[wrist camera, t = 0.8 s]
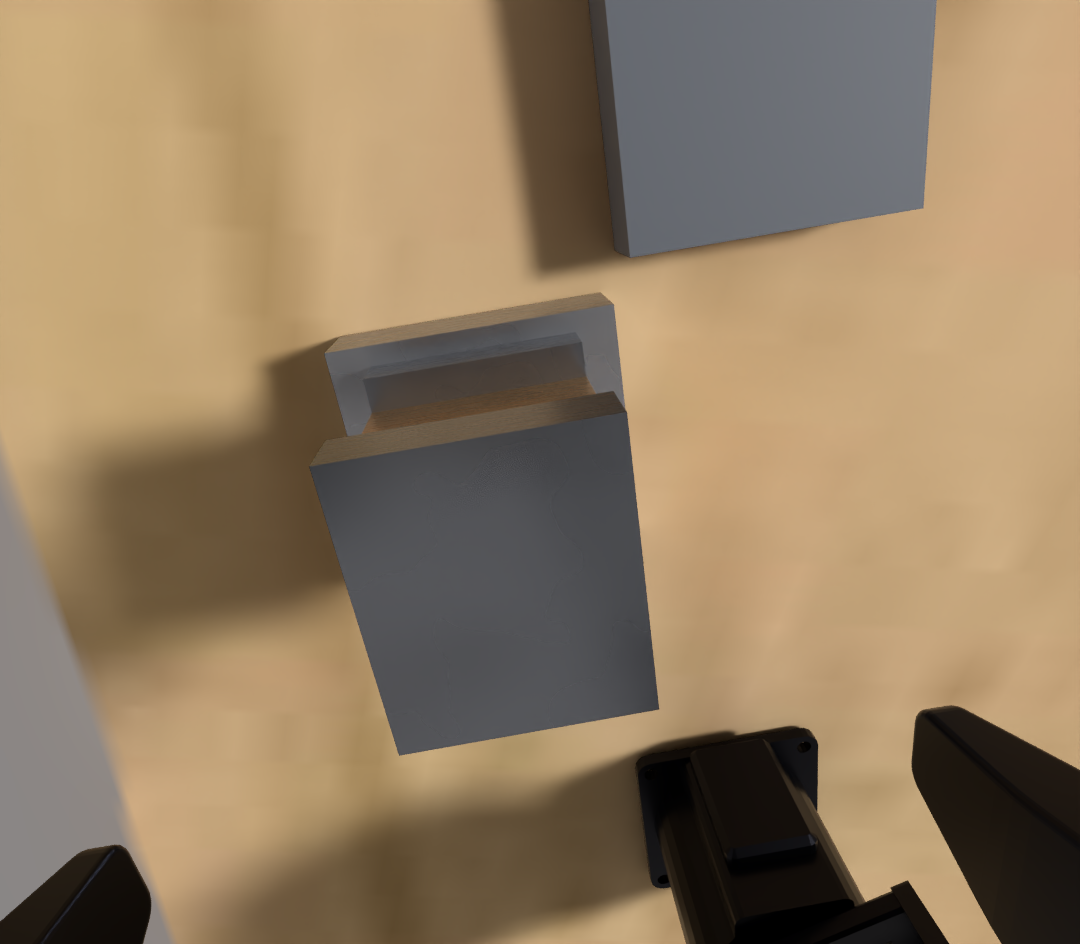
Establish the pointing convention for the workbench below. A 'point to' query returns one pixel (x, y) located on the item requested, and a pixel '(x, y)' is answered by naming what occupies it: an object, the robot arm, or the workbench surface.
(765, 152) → the stand
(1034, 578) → the workbench surface
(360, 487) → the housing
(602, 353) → the stand
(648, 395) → the workbench surface
